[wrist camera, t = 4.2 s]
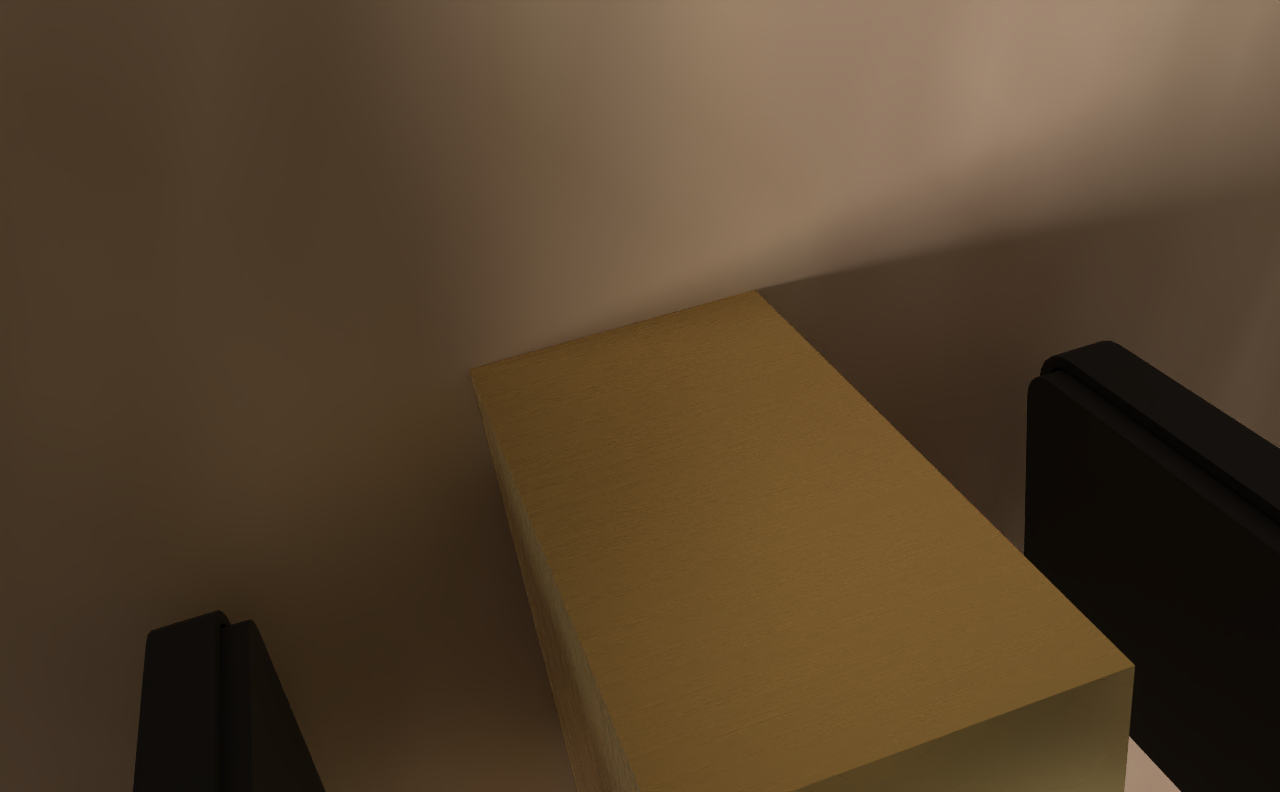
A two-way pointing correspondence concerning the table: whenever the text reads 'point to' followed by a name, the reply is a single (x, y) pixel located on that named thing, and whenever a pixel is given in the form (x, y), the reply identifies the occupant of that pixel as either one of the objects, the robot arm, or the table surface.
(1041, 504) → the robot arm
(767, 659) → the olive rectangular prism
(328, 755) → the table surface
